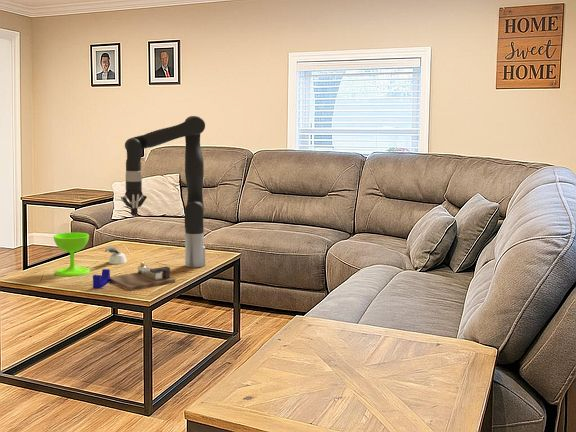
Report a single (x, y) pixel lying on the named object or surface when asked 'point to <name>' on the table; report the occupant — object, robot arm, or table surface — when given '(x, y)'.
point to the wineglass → (71, 252)
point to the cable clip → (101, 279)
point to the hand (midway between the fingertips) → (134, 215)
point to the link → (146, 272)
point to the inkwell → (116, 256)
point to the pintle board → (142, 279)
